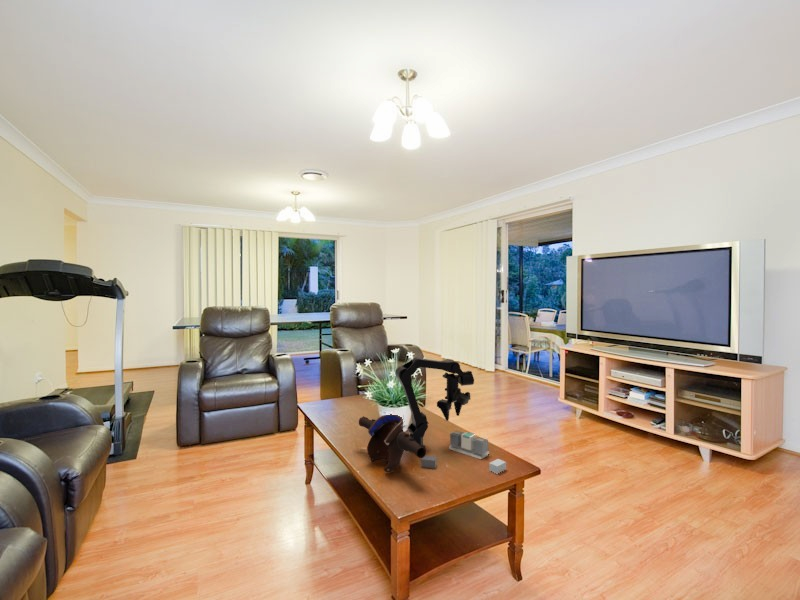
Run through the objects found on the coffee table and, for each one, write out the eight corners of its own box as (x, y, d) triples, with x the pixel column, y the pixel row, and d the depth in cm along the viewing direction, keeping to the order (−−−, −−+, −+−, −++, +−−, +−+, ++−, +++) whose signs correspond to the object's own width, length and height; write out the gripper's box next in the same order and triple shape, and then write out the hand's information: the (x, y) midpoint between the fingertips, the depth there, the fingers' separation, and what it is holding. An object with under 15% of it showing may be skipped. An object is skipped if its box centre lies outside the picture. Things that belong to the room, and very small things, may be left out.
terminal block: (497, 474, 155) (497, 466, 154) (489, 471, 158) (489, 462, 158) (506, 470, 158) (506, 462, 158) (498, 466, 161) (498, 458, 161)
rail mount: (481, 459, 168) (481, 443, 168) (449, 448, 179) (449, 433, 179) (489, 454, 173) (489, 438, 173) (457, 444, 184) (457, 429, 184)
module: (461, 447, 176) (461, 434, 176) (466, 444, 179) (466, 431, 179) (470, 450, 173) (470, 437, 172) (475, 447, 176) (475, 434, 176)
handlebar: (349, 451, 177) (349, 408, 177) (372, 444, 185) (372, 403, 184) (409, 491, 142) (409, 438, 141) (435, 481, 150) (435, 430, 149)
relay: (435, 469, 160) (435, 460, 160) (421, 467, 161) (421, 459, 161) (436, 464, 164) (436, 456, 164) (422, 463, 165) (422, 455, 165)
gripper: (455, 393, 173) (456, 427, 174) (476, 385, 187) (476, 416, 188) (436, 389, 181) (436, 421, 181) (457, 381, 195) (457, 412, 195)
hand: (452, 418), depth 186 cm, fingers open, 9 cm apart
